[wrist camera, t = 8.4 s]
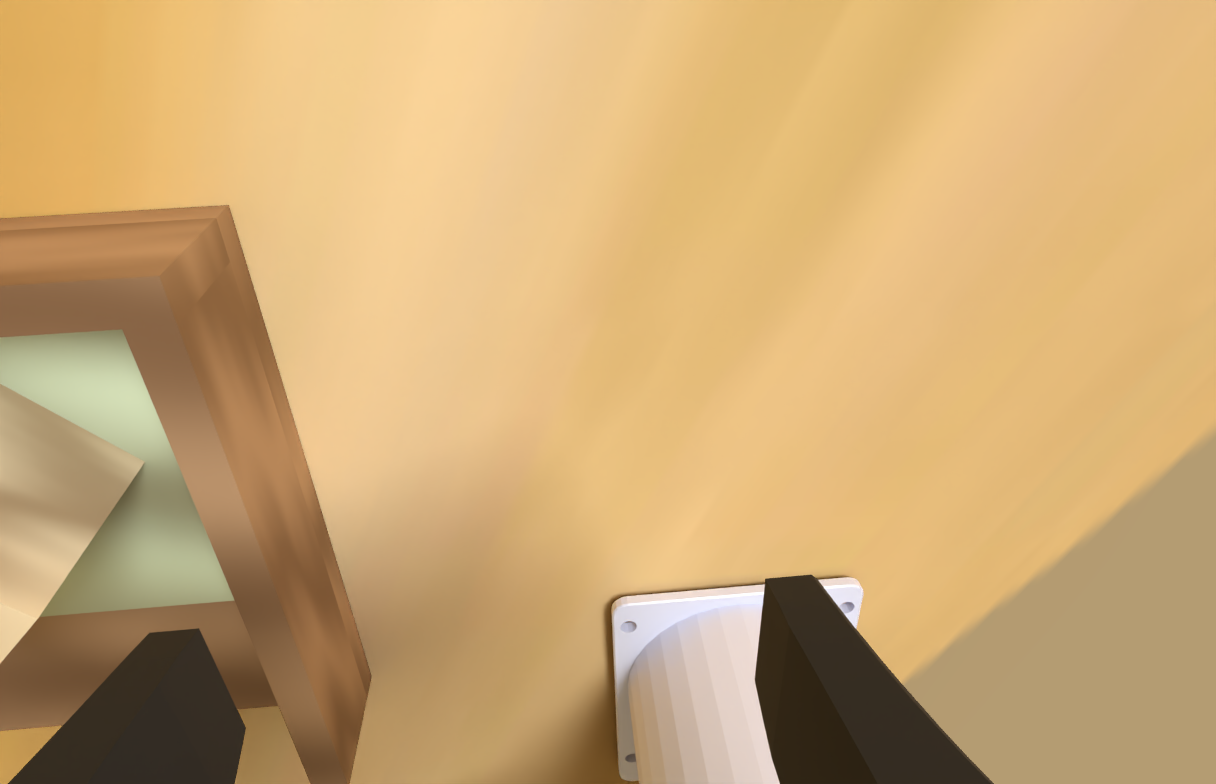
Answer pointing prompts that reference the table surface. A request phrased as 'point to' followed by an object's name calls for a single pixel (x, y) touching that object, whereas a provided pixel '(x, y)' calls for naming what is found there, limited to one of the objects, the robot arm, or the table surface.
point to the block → (48, 505)
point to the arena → (177, 475)
